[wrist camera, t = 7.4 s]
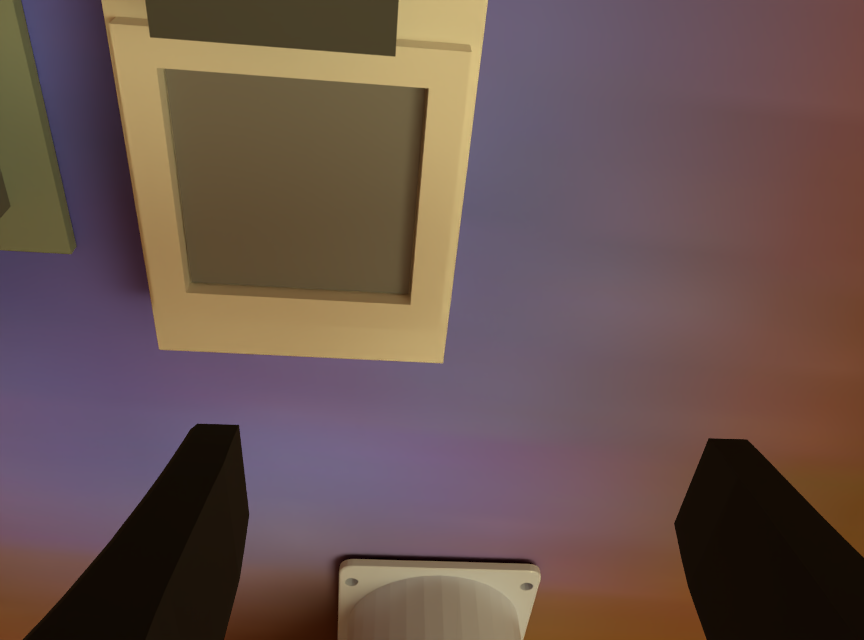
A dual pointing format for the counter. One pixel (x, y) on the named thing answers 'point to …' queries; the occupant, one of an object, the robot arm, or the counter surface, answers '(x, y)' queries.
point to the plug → (280, 23)
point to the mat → (28, 149)
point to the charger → (3, 197)
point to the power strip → (300, 184)
